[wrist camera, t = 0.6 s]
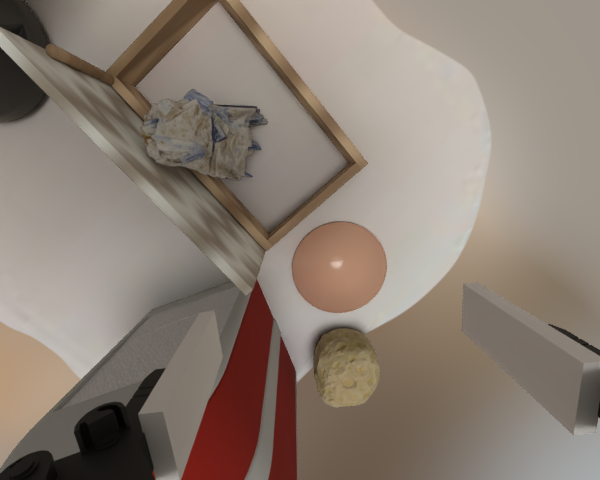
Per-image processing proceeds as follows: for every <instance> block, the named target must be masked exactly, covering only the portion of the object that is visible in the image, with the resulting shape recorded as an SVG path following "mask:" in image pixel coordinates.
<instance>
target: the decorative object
mask: <svg viewBox="0 0 600 480" xmlns="http://www.w3.org/2000/svg"><path fill="white" fill-rule="evenodd" d="M379 369H380V364H379V362H378V360H377V357H376V353H375V350H374V348H373V347H372V345H371V343H370V341H369V340H368V338H366V337H365V335H364V334H362V333H360V332H359V331H357V330H353V329H348V328H341V329H334V330H332V331H330V332H328V333H326V334H324V335H321V337H320V341H319V342H318V344H317V346H316V350H315V354H314V377H315V380H316V383H317V389H318V392H319V394H320V396H321V397H322V399H323V401H324V402H325V403H326V404H328V405H330V406H333V407H335V408H337V407H341V406H353V405H359V404H362V403H364V402H366V401H367V399H368V398H369V397H370V396H371V394H372V393H373V391H374V389H375V388H376V386H377V384H378V381H379V377H380V371H379Z"/></svg>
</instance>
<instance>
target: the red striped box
mask: <svg viewBox="0 0 600 480" xmlns="http://www.w3.org/2000/svg"><path fill="white" fill-rule="evenodd" d="M210 311H215V317H216V322H217V328H218V333H219V339H220V344H221V349H222V355H223V359H222V361H221V364H220V367H219V370H218V373H217V376H216V379H215V382H214V385H213V388H212V391H211V394H210V397H209V400H208V402H207V405H206V408H205V411H204V414H203V417H202V420H201V423H200V426H199V429H198V432H197V435H196V438H195V440H194V443H193V446H192V449H191V452H190V455H189V458H188V461H187V464H186V467H185V470H184V473H183V476H182V478H181V480H298V435H297V390H296V389H297V388H296V371H295V368H294V366H293V363H292V361H291V359H290V356H289V354H288V351H287V349H286V347H285V344H284V342H283V340H282V337H281V332H280V329H279V327H278V324H277V322H276V320H275V319H274V318H273V316H272V314H271V311H270V309H269V307H268V304H267V302H266V300H265V297H264V295H263V293H262V290H261V288H260V285H259V283H258V281H257V280H256V282H255V285H254V288H253V290H252V291H251V292H250V293H248V294H247V295H245V294H244V293H243V292H242V291H241V290H240V289H239V288H238V287H237V286H236V285H235V284H234V283H233V282H232V281H230V282H227V283H225V284H222V285H219V286H216V287H214V288H211V289H208V290H205V291H203V292H200V293H197V294H194V295H191V296H189V297H186V298H183V299H180V300H178V301H175V302H172V303H169V304H167V305H164V306H161V307H158V308H155V309H153V310H151V311H150V312H149V313H148V314H147V315H146V316H145V317H144V318H143V319H142V320H141V321H140V322H139V323H138V324H137V325H136V326H135V327H134V328H133V329H132V330H131V331H130V332H129V333H128V334H127V335H126V336H125V337H124V338H123V339H122V340H121V341H120V342H119V343H118V344H117V345H116V346H115V347H114V348H113V349H112V350H111V351H110V352H109V353H108V354H107V355H106V356H105V357H104V358H103V359H102V360H101V361H100V362H99V363H98V364H97V365H96V366H95V367H94V368H92V369H91V370H90V371H89V372H88V373H87V374H86V375H85V376H84V377H83V378H82V379H81V380H80V381H79V382H78V383H77V384H76V386H75V387H73V388H72V389H71V390H70V391H69V392H68V393H67V394H66V395H65V396H64V397H63V398H62V399H61V400H60V401H59V402H58V403H57V404H56V405H55V406H54V407H53V408H52V409H51V410H50V411H49V412H48V413H47V414H46V415H45V416H44V417H43V418H42V419H41V420H40V421H39V422H38V423H37V424H36V425H35V426H34V427H33V428H32V429H31V430H30V431H29V432H28V433H27V434H26V436H25V437H24V438H23V439H22V440H21V441H20V442H19V444H18V445H17V446H16V447H15V449H14V450H13V451H12V452H11V454H10V455H9V457H8V458H7V460H6V461H5V462H4V464H3V465H2V467H1V468H0V473H1V472H2V471H3V470H4V469H5V468H7V467H8V466H9V465H11V464H12V463H13V462H15V461H16V460H18V459H20V458H22V457H24V456H26V455H28V454H30V453H33V452H36V451H40V450H47V451H49V452H50V453H52V456H53V459H54V461H55V460H58V459H61V458H64V457H66V456H69V455H72V454H75V453H78V452H80V449H79V446H78V443H77V441H76V438H75V435H74V428H75V425H76V424H77V423H78V421H79V420H80V419H81V418H82V417H83V416H84V415H85V414H86V413H88V412H89V411H91V410H92V409H94V408H96V407H98V406H100V405H103V404H105V403H110V402H121V403H123V404H124V405H125V407H126V405H127V404H128V402H129V401H130V399H131V398H133V395H134V393H135V392H136V390H138V387H139V386H140V384H141V383H142V381H143V380H144V379H145V378H146V377H147V376H148V375H149V374H150V373H152V372H153V371H154V370H155V369H162V368H166V367H167V366H168V364H169V362H170V361H171V359H172V357H173V356H174V354H175V353H176V351H177V349H178V348H179V346H180V344H181V343H182V341H183V339H184V338H185V336H186V334H187V333H188V331H189V329H190V328H191V326H192V325H193V323H194V321H195V320H196V318H197V316H198V315H199V313H201V312H210ZM152 474H153V476H154V478H155V475H154V471H153V472H152ZM155 480H156V479H155Z"/></svg>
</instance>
